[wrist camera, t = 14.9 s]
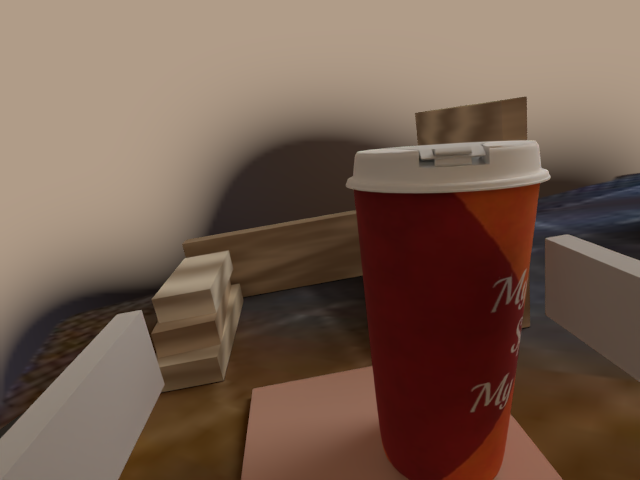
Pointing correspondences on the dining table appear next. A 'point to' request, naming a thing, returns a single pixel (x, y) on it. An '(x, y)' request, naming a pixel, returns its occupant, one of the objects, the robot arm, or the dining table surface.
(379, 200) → the paper cup
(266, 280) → the oak rack
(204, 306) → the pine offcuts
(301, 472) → the terracotta mat
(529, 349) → the dining table surface
